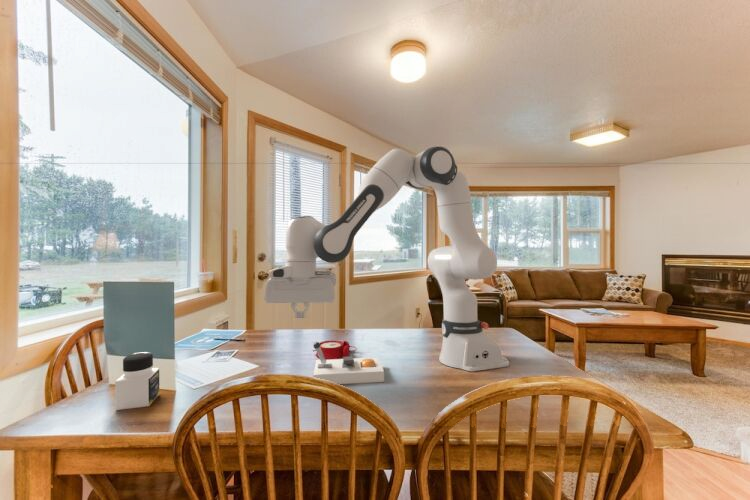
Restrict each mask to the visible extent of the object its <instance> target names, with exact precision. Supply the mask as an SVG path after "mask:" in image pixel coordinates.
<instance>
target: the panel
mask: <svg viewBox="0 0 750 500" xmlns="http://www.w3.org/2000/svg"><path fill="white" fill-rule="evenodd" d="M353 359H354V364H343V358H337V359H325V360H326V363H325V364H323V365H322V363H321V361H320V359H315V364H314V369H313V374H312V375H313V376H312V378H313V377H316V378H320V379H325V380H329V381H332V382H335V383H338V384H337V385H347V384H348V385H349V384H350V385H352V384H365V383H366V384H367V383H382V382H385V370H384V367H383V365H382V363H381V360H380V357H379V356H377V357H357V358H354V357H353ZM364 359H373V360H374V367H364V368H362V360H364Z"/></svg>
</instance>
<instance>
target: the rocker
mask: <svg viewBox="0 0 750 500" xmlns="http://www.w3.org/2000/svg"><path fill="white" fill-rule="evenodd" d="M353 358H354V356H351V355H350V356H348V357H342V359H343V364H354V359H353Z"/></svg>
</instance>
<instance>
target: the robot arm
mask: <svg viewBox="0 0 750 500" xmlns="http://www.w3.org/2000/svg"><path fill="white" fill-rule="evenodd" d="M405 184H406V185H408V186H409V187H411V188H414V189H418V190H421V189H422V190H423V189H425V188H430V187H431V188H432V189H433V191H434V193H435V197H436V206H437V215H438V216H437V218H438V225H439V226H438V227H439V229H440V231H441V232H442V233H443V234H444V235H445V236H447V237H448V238H449V240H450V242H451V244H452V245H444V246H439V247H436V248H433V249H432V250H431V251H430V252H429V254H428V256H427V266H428V267H427V268H428V270H429V271H430V272H431V273H432V274H433V276H434V277H435V278H436V280H437V283H438V285H439V287H440V290H441V294H442V301H443V302H442V305H443V306H442V307H443V317H442V322H441V332H442V333H441V334H442V343H441V349H440V354H439V357H438V362H440V363H442V365H445V366H448V367H451V368H456V369H460V370H461V369H462V370H464V371H468V372H477V371H484V370H491V369H499V368H506V367H509V366H510V362H509V360H508V359H507V357H505V356H503V354H502V350H501V347H500V344H499V343H498V342H497V340H495V339H493V337H491V336H490V335H489V334H488V333H487V332H485V331H483V330H487V329H488V328H489V323H487V322H485V321H481V320H479V319H478V298H477V295H476V294H475V293H474V292H473V291H472V290H471V289H470V288H469V287H468V285H467V282H466V280H473V281H475V280H484V279H488V278H491V277H492V276H493V275H494V274H495V273H496V270H497V267H498V259H497V256H496V254H495V252H494V250H493V249H491V248H490V247H488V246H487V245H486V244H485V243H484V242H483V240H482V239H481V237H480V235H479V232H478V231H477V228H476V226H475V221H474V214H473V205H472V196H471V191H470V186H469V183H468V179H467V177H466V175H465V173H463V172H462V171H459V170H458V166H457V164H456V160H455V158H454V156H453V153H451V151H450V150H449V149H448V148H446V147H445V146H432V147H429V148H427V149H426V150H423V151H421V152H420V153H419V152H418V154H416V155H415V156H412V155H411V154H410V153H409V152H408V151H406V150H404V149H402V148H393V149H390V151H388V152H387V153H385V154H384V155H383V156H382V157H381V158H380V159H379V160H377V162H376V163H375V164H374V165H372V167H371V168H370V169H369V170H368V172H367V173H366V175H365V176H364V178H363V179H362V181H361V183H360V185H359V187H358V192H357V195H356V197H355V199H354V200H353V201H352V203H351V204H350V205H349V206H348V207H347V208H346V210H345V211H344V212H343V213H342V215H340V217H339V218H338V219H336V221H334V222H332V223H329V224H328V225H326V224H325V223H322V222H321V221H319V220H318V219H316V218H315V217H314V216H311V215H303V216H297V217H293V218H291V219H290V220H289V221H288V223H287V226H286V232H285V250H286V257H285V263H284V265H282V266H279V267H276V268H273V269H271V270H269V271H268V277H269V279H268V280H267V281H266V282H265V283H266V284H265V287H264V299H263V300H264V301H265V303H267V304H290V305H291V306H290V307H291V308H292V310H293V312H294V319H306V314H307V313H306V312H307V310H308V309H309V307H310V304H311V303H312V304H313V303H315V304H316V303H320V304H321V303H322V304H324V303H333V302H334V301H335V300H336V299H335V298H336V297H335V296H336V295H335V294H336V293H335V285H336V283H337V276H336V274H335V272H332V271H330V270H326V271H323V270H317V259H318V258H319V259H321V260H322V261H324V262H325V263H329V264H331V263H333V264H334V263H339V262H341V261H344V259H346V258H347V257H348V256H349V254H350V253H351V249H352V245H353V242H354V238H355V236H356V235H357V234H358V233H359V231H360V229H361V228H362V227H364V225H365V223H366V222H367V221H368V220H369V219H370V217H371V216H372V214H374V213H375V212H376V211H378V210H379V209H381V208H383V207H384V206H385V205H387V204H388V203H389V202H390V201H391V200H393V198H394V197H395V196H396V195H397V194H398V192H400V191H401V189H402V188H403V187H404V185H405ZM300 303H301V304H303V307H304V310H302V311H301V310H298V309H297V306H298V304H300Z"/></svg>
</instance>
